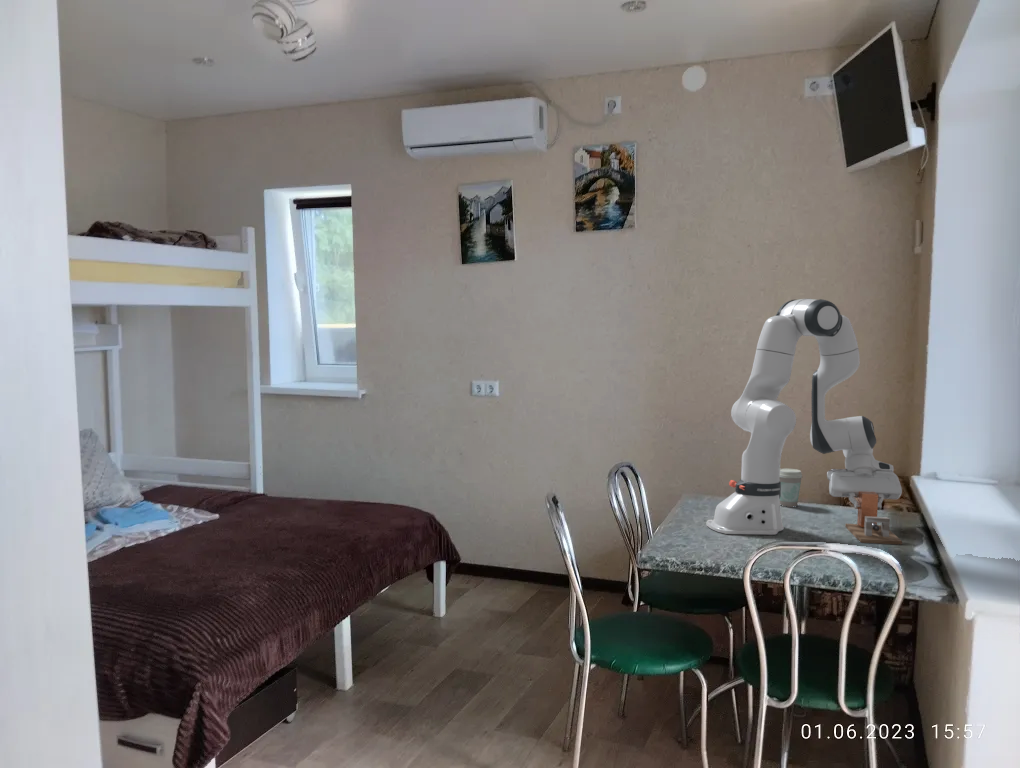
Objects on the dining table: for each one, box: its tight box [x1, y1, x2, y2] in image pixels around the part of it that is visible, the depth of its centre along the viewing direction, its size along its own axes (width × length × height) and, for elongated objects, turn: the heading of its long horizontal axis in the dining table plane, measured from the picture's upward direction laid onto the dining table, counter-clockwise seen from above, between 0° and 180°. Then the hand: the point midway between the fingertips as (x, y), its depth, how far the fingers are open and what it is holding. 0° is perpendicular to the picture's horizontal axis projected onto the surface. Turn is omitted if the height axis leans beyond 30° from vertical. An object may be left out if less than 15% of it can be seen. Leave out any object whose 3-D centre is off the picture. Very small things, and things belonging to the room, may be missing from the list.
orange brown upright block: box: [856, 491, 879, 531], centre depth 241 cm, size 12×4×10 cm, turn 170°
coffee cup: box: [779, 467, 803, 508], centre depth 276 cm, size 8×9×12 cm
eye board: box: [844, 516, 903, 545], centre depth 238 cm, size 18×11×6 cm, turn 170°
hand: (868, 508), depth 244 cm, fingers closed on orange brown upright block, 4 cm apart
